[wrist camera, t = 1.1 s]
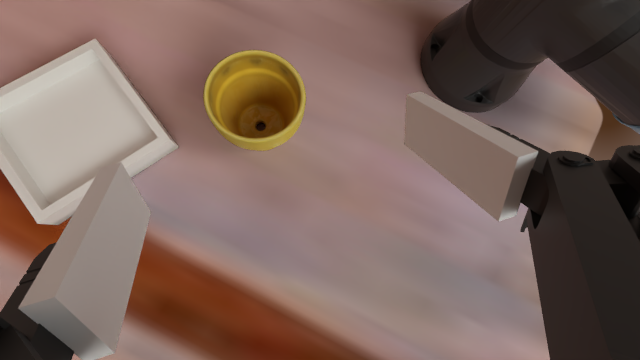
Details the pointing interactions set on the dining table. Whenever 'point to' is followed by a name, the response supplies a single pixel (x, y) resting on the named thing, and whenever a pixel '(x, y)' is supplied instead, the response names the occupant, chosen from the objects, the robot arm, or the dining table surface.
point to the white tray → (74, 130)
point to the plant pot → (255, 99)
